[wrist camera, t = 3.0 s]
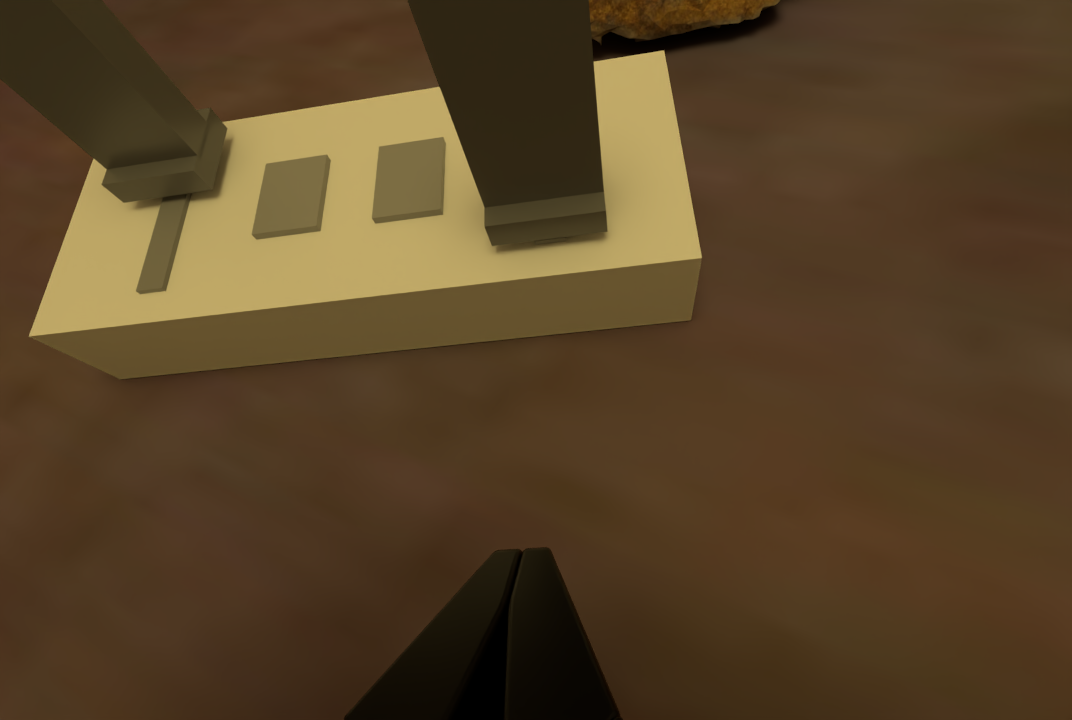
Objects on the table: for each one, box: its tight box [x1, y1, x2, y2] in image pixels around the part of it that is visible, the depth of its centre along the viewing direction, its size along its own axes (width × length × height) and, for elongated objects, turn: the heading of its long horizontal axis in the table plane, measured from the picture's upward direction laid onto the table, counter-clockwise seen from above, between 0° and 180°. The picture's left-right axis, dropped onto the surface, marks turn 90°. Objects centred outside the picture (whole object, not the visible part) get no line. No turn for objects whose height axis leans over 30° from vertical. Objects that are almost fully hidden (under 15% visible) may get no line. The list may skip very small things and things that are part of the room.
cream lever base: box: [29, 50, 702, 379], centre depth 22 cm, size 9×23×4 cm, turn 92°
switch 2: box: [408, 0, 608, 246], centre depth 15 cm, size 3×4×9 cm
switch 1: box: [0, 0, 227, 203], centre depth 18 cm, size 3×4×9 cm
